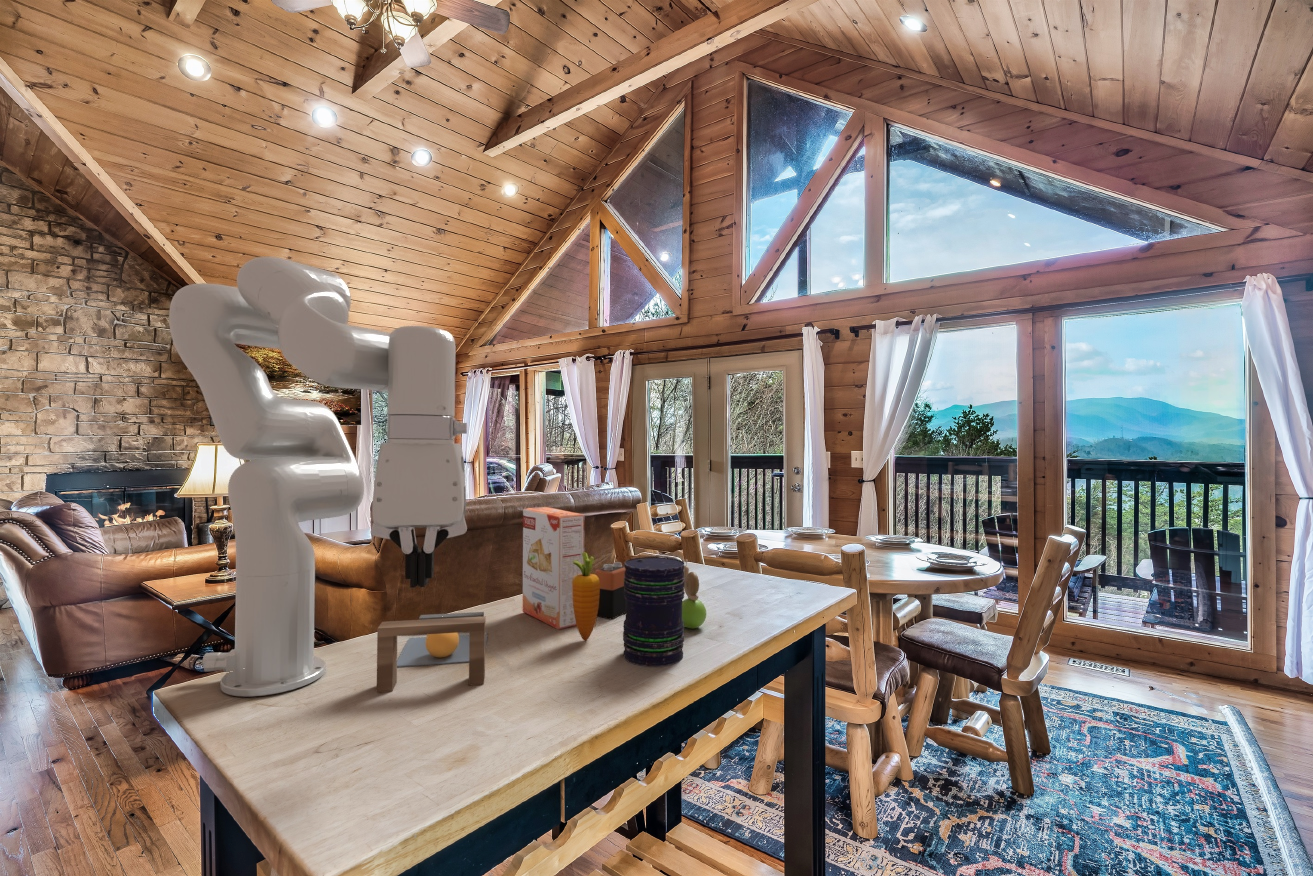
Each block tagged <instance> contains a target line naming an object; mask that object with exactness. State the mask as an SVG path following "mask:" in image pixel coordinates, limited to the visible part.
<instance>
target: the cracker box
mask: <svg viewBox="0 0 1313 876" xmlns="http://www.w3.org/2000/svg"><path fill="white" fill-rule="evenodd" d="M584 552H585V514H583V513H578V512H573V511H568V510H563V509H559V508H554V507H548V506H542V507H540V506H539V507H526V508H523V509H522V612H523V613H525V614H527V615H529V616H531V617H533V618H535V619H537V620H539V621H541V622H543V623H545V624H547V625H549V626H551V627H553V628H555V629H556V630H562V629H566V628H570V627H575V626H577V625H576V620H575V615H574V608H573V594H572V581H573V578H574V577H575V576H576V575H579V574H582V572H581V570H580V569H579V567H578V566H577V565H575V564H573V561H578V562H580V564H584V565H585V563H584V560H583V556H582V553H584Z"/></svg>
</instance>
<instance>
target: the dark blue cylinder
mask: <svg viewBox="0 0 1313 876" xmlns="http://www.w3.org/2000/svg"><path fill="white" fill-rule="evenodd" d="M624 566H625V569H626V571H625V578H624V597H625V599H626V613H624V614H625V620H624V621H623V626H622V627H623V632H622V641H623V648H624V649H623V658H624V660H626V661H627V662H628V663H630V664H633V665H636V666H642V667H649V668H652V667H653V668H655V667H657V668H658V667H666V666H672V665H675V664H678V663H679V662H681V661H682V660H683V658H684V650H683V648H684V642H685V632H684V630H685V626H684V622H683V621H682V601H684V598H685V595H686V593H685V590H684V587H685V579H684V571H683V570H684V566H685V562H683V561H682V559H677V558H671V557H662V556H648V557H647V556H644V557H634V558H631V559H627V560H625V561H624Z"/></svg>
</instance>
